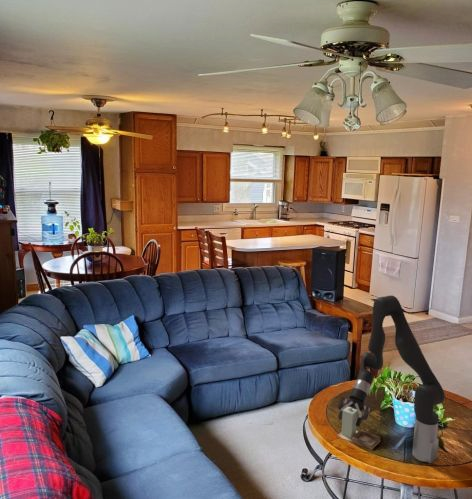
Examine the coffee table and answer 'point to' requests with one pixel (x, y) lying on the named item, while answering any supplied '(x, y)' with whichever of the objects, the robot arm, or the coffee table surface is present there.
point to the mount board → (363, 439)
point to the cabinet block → (349, 422)
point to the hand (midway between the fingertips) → (348, 422)
